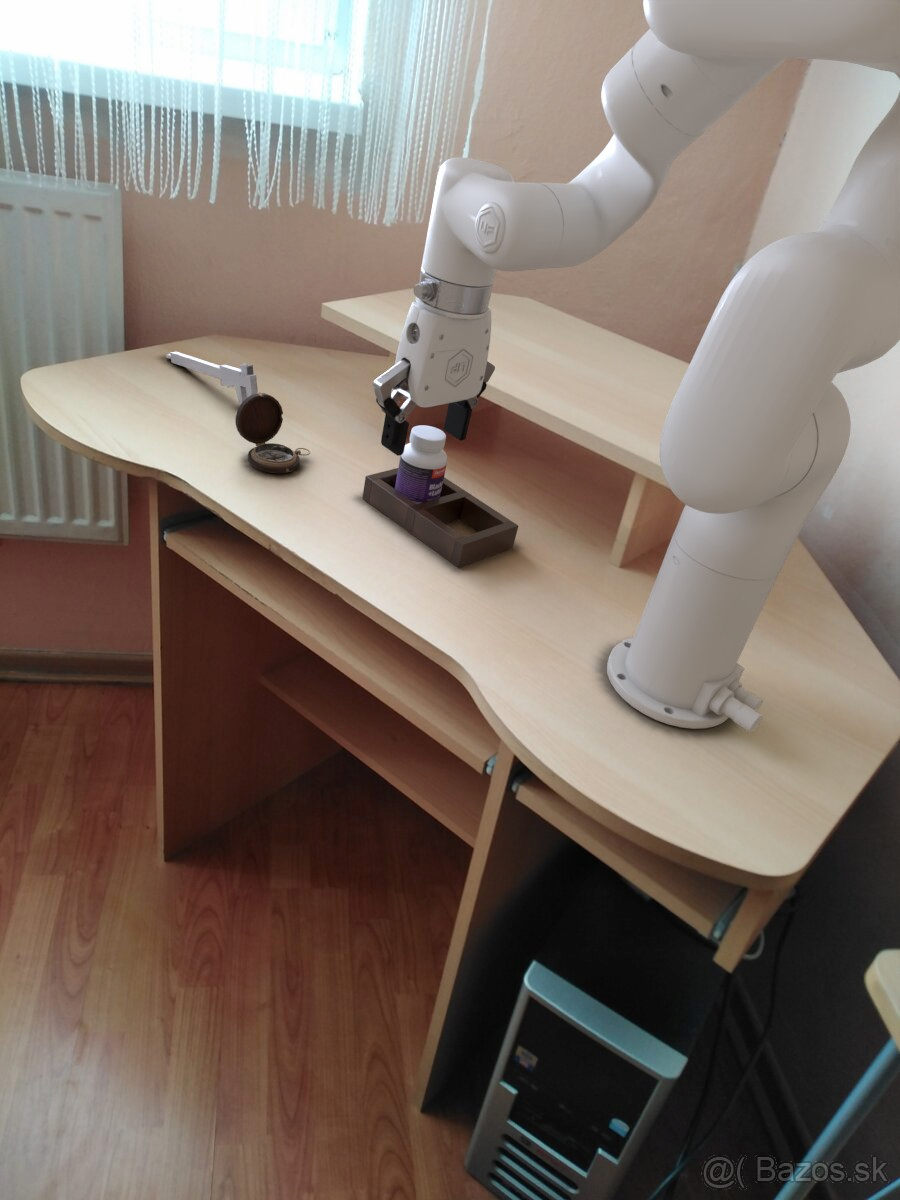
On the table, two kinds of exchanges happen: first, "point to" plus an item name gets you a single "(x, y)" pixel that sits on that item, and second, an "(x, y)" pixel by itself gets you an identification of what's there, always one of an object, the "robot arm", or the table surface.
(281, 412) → the compass
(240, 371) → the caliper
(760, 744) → the table surface
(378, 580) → the table surface
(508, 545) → the tray
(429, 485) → the pill bottle
